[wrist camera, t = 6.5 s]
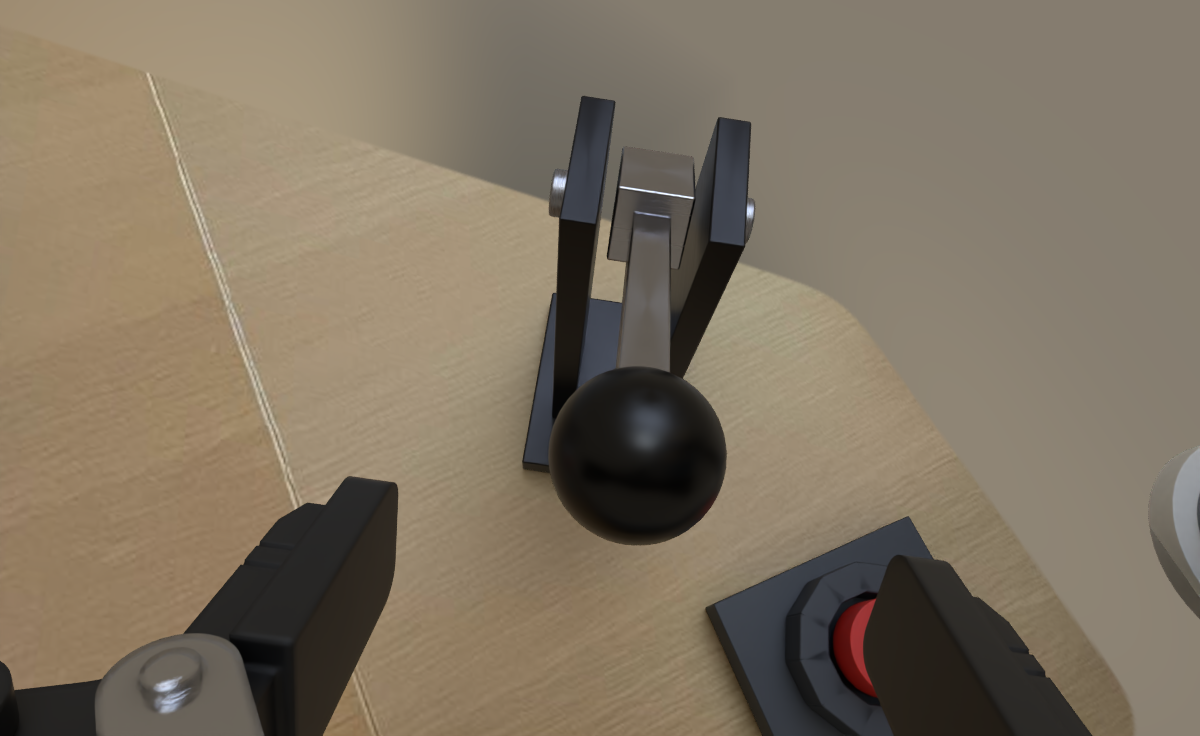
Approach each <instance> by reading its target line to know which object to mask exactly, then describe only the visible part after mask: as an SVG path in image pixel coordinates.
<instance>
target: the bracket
mask: <svg viewBox="0 0 1200 736" xmlns="http://www.w3.org/2000/svg"><path fill="white" fill-rule="evenodd" d="M614 110H615V101H613V100H607V99H600V98H594V97H587V96H582V97H581V102H580V108H579V113H578V119H577V124H576V130H575V135H574V141H573V146H572V151H571V157H570V163H569V168H568V170H561V169H555V171H554V174H553V178H552V184H551V191H550V199H549V215H550V216H552V217H559V237H558V264H557V291H556V293H553V294H552V298H551V304H550V310H549V315H548V321H547V326H546V332H545V338H544V343H543V349H542V354H541V360H540V366H539V371H538V377H537V382H536V388H535V393H534V399H533V405H532V410H531V416H530V421H529V427H528V433H527V438H526V444H525V449H524V455H523V461H522V462H523V469H527V470H534V471H541V472H548V473H550V469H549V459H548V450H549V441H550V436H551V432H552V428H553V425H554V423H555V420H556V418H557V416H558V414H559V412H560V410H561V409H562V407H563V406H564V404H565V403H566V401H567V400H568V399H569V397H570V396H571V395H572V394H573V393H574V392H575V391H576V390H577V389H578V388H579V387H580V386H582V385H583V384H584V383H586V382H587V381H589V380H590V379H592V378H594V377H595V376H597V375H599V374H602V373H604V372H607V371H610V370H613V369H616V359H617V349H618V339H619V329H620V319H621V309H622V303H619V302H613V301H606V300H599V299H592V298H591V291H592V283H593V275H594V267H595V259H596V251H597V244H598V236H599V228H600V220H601V212H602V204H603V196H604V189H605V180H606V173H607V165H608V156H609V150H610V142H611V133H612V126H613V118H614ZM750 136H751V123H750V122H747V121H741V120H734V119H727V118H722V117H719V118H718V119H717V122H716V125H715V128H714V132H713V135H712V138H711V141H710V144H709V147H708V151H707V154H706V157H705V160H704V163H703V166H702V170H701V173H700V176H699V179H698V182H697V186H696V189H695V194H696V201H695V205H694V209H693V214H692V218H691V222H690V227H689V231H688V235H687V239H686V244H685V248H684V252H683V257H682V261H681V265H680V268H679V269H678V270H674V269H671V307H670V373H672V374H674V375H676V376H678V377H680V378H682V379H683V377H684V375H685V373H686V371H687V368H688V366H689V364H690V362H691V360H692V358H693V356H694V354H695V352H696V349H697V347H698V345H699V343H700V341H701V339H702V337H703V335H704V333H705V330H706V328H707V326H708V324H709V322H710V320H711V318H712V316H713V314H714V311H715V309H716V307H717V305H718V303H719V301H720V299H721V297H722V294H723V292H724V290H725V288H726V286H727V284H728V282H729V280H730V278H731V275H732V273H733V271H734V269H735V267H736V265H737V263H738V261H739V258H740V256H741V254H742V252H743V250H744V248H745V244H746V243H747V241H748V240H749V237H750V234H751V231H752V227H753V222H754V215H755V202H754V200H753V199H752V198H748V178H749V159H750V138H751V137H750Z"/></svg>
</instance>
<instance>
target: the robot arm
mask: <svg viewBox="0 0 1200 736" xmlns="http://www.w3.org/2000/svg"><path fill="white" fill-rule="evenodd" d="M397 512H398V487H397V484H396V483H394V482H387V481H380V480H373V479H366V478H359V477H352V476H349V477H347V478H345V480H344V481H343V482H342V483H341V485H340V486H339V487H338V489H337V490H336V491H335V493H334V494H333V495H332V497H331V498H330V499H329V501H328V502H327V504H326V505H321V504H314V503H306V504H304V505H302V506H301V507H299V508H297V509H296V510H294V511H292V512H290V513H289V514H287V515H285V516H284V517H282V518H280V519H278V521H277V522H276V523H275V524H274V525H273V527H272V528H271V529H270V530H269V531H268V533H267V534H266V535H265V536H264V537H263V539H262V540H261V541H260V545H259V546H256V547H255V548H254V549H253V551H252V552H251V553H250V554H249V555H248V557H247V558H246V559H245V562H244V565H240V566H239V567H238V569H237V570H236V571H235V572H234V573H233V575H232V576H231V577H230V578H229V579H228V581H227V582H226V583H225V584H224V585H223V587H222V588H221V589H220V590H219V591H218V593H217V594H216V595H215V596H214V597H213V599H212V600H211V601H210V602H209V603H208V605H207V606H206V607H205V608H204V609H203V611H202V612H201V613H200V614H199V616H198V617H197V618H196V619H195V620H194V622H193V623H192V624H191V625H190V626H189V628H188V629H187V630H186V631H185V632H184V634H181V635H174V636H170V637H166V638H162V639H159V640H156V641H153V642H151V643H149V644H146V645H144V646H142V647H140V648H138V649H136V650H134V651H133V652H131V653H129V654H128V655H126V656H125V657H124V658H122V659H121V660H120V661H118V662H117V663H116V664H115V665H114V666H113V667H112V668H111V669H110V670H109V671H108V672H107V673H106V675H105V676H104V677H103V679H100V680H95V681H88V682H81V683H73V684H64V685H55V686H47V687H38V688H30V689H21V690H14V687H13V682H12V677H11V674H10V671H9V669H8V668H7V666H6V665H5V664H4V663H2V662H1V661H0V736H323V734H324V731H325V729H326V727H327V725H328V723H329V721H330V719H331V717H332V715H333V713H334V711H335V708H336V706H337V704H338V702H339V700H340V698H341V696H342V694H343V692H344V690H345V688H346V686H347V683H348V681H349V679H350V677H351V675H352V673H353V671H354V669H355V667H356V665H357V663H358V660H359V658H360V656H361V654H362V652H363V650H364V648H365V646H366V644H367V642H368V640H369V637H370V635H371V633H372V631H373V629H374V627H375V625H376V623H377V621H378V619H379V617H380V615H381V612H382V610H383V608H384V606H385V604H386V602H387V599H388V596H389V593H390V590H391V586H392V582H393V577H394V571H395V560H396V536H397ZM1197 517H1198V525H1199V530H1200V494H1199V499H1198V507H1197ZM863 657H864V663H865V668H866V671H867V674H868V676H869V678H870V681H871V683H872V685H873V688H874V690H875V692H876V695H877V697H878V700H879V702H880V704H881V707H882V709H883V711H884V714H885V716H886V718H887V721H888V723H889V726H890V728H891V730H892V733H893V735H894V736H1092V735H1091V733H1090V732H1089V730H1088V729H1087V728H1086V726H1085V725H1084V724H1083V722H1082V721H1081V720H1080V718H1079V717H1078V716H1077V714H1076V713H1075V711H1074V710H1073V709H1072V707H1071V706H1070V705H1069V703H1068V702H1067V701H1066V699H1065V698H1064V697H1063V695H1062V694H1061V692H1060V691H1059V690H1058V688H1057V687H1056V686H1055V684H1054V683H1053V682H1052V680H1051V679H1050V678H1046V676H1045V671H1044V669H1043V668H1042V667H1041V665H1040V664H1039V663H1038V661H1037V660H1036V659H1035V657H1034V656H1033V655H1030V654H1029V649H1028V648H1027V646H1026V645H1025V644H1024V642H1023V641H1022V639H1021V638H1020V637H1019V635H1018V634H1017V633H1016V631H1015V630H1014V629H1013V627H1012V626H1011V625H1010V623H1009V622H1008V621H1007V620H1005V619H1004V618H1003V617H1002V616H1001V615H999V614H998V613H997V612H996V611H994V610H993V609H992V608H991V607H990V606H988V605H987V604H986V603H985V602H984V601H982V600H981V599H980V598H977V597H973V596H972V595H971V593H970V592H969V590H968V589H967V588H966V586H965V585H964V583H963V582H962V580H961V579H960V578H959V576H958V575H957V573H956V572H955V571H954V569H953V568H952V566H951V565H950V564H949V563H947V562H945V561H941V560H934V559H927V558H920V557H913V556H906V555H895V556H894V557H893V558H892V559H891V560H890V562H889V564H888V566H887V569H886V571H885V574H884V577H883V580H882V583H881V586H880V589H879V591H878V594H877V597H876V600H875V603H874V606H873V609H872V612H871V614H870V617H869V620H868V623H867V626H866V629H865V633H864V639H863Z"/></svg>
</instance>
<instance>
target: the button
mask: <svg viewBox="0 0 1200 736" xmlns="http://www.w3.org/2000/svg"><path fill="white" fill-rule="evenodd" d="M875 600H876V599H872V600H867V601H863V602H859V603H856V604H854V605H852V606H850V607H849V608H848V609H846V610H845V611H844V612H843V613H842V615H841V616H840V618H839V619H838V621H837V623H836V626H835V629H834V634H833V650H834V655H835V658H836V661H837V664H838V666H839V668H840V670H841V672H842V673H843V675H844V676H845V677H846V679H847V680H848V681H849V682H850V683H851V684H852V685H853V686H854V687H855V688H857V689H858V690H860V691H861V692H863V693H865V694H867V695H869V696H872V697H876V698H878V697H877V695H876V692H875V690H874V688H873V685H872V683H871V681H870V678H869V676H868V674H867V671H866V668H865V663H864V657H863V639H864V633H865V629H866V626H867V623H868V620H869V617H870V614H871V612H872V609H873V606H874V603H875Z"/></svg>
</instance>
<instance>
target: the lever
mask: <svg viewBox="0 0 1200 736" xmlns="http://www.w3.org/2000/svg"><path fill="white" fill-rule="evenodd" d="M695 201H696V194H695V173H694V158H693V157H692V156H685V155H679V154H672V153H666V152H659V151H653V150H646V149H640V148H633V147H627V146H626V147H623V149H622V156H621V162H620V169H619V176H618V182H617V189H616V196H615V202H614V209H613V216H612V223H611V230H610V237H609V244H608V251H607V259H609V260H614V261H620V262H626V269H625V279H624V289H623V299H622V309H621V319H620V329H619V339H618V349H617V359H616V369H613V370H610V371H607V372H604V373H602V374H599V375H597V376H595V377H594V378H592V379H590V380H589V381H587V382H586V383H584V384H583V385H582V386H580V387H579V388H578V389H577V390H576V391H575V392H574V393H573V394H572V395H571V396H570V397H569V399H568V400H567V401H566V403H565V404H564V406H563V407H562V409H561V410H560V412H559V414H558V416H557V418H556V420H555V423H554V425H553V428H552V432H551V436H550V441H549V450H548V459H549V469H550V474H551V478H552V482H553V485H554V487H555V490H556V492H557V495H558V497H559V499H560V500H561V502H562V504H563V505H564V507H565V508H566V509H567V511H568V512H569V513H570V514H571V516H572V517H573V518H574V519H575V520H576V521H577V522H578V523H579V524H581V525H582V526H583V527H585V528H586V529H587V530H589V531H590V532H592V533H594V534H596V535H597V536H599V537H601V538H604V539H606V540H609V541H612V542H615V543H619V544H624V545H651V544H657V543H661V542H665V541H667V540H670V539H672V538H675V537H677V536H679V535H681V534H682V533H684V532H686V531H688V530H689V529H690V528H691V527H692V526H694V525H695V524H696V523H697V522H699V521H700V520H701V519H702V518H703V516H704V515H705V514H706V513H707V512H708V510H709V509H710V508H711V506H712V505H713V503H714V501H715V500H716V498H717V496H718V494H719V491H720V489H721V486H722V483H723V480H724V476H725V470H726V457H727V451H726V443H725V437H724V433H723V430H722V427H721V424H720V421H719V419H718V417H717V415H716V413H715V411H714V410H713V408H712V406H711V405H710V404H709V402H708V401H707V400H706V398H705V397H704V396H703V395H702V394H701V393H700V392H699V391H698V390H697V389H696V388H695V387H694V386H692V385H691V384H690V383H688V382H687V381H685V380H684V379H682V378H680V377H678V376H676V375H674V374H672V373H670V307H671V269H674V270H678V269H679V268H680V265H681V261H682V257H683V252H684V248H685V244H686V239H687V235H688V231H689V227H690V222H691V218H692V214H693V209H694V205H695Z"/></svg>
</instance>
